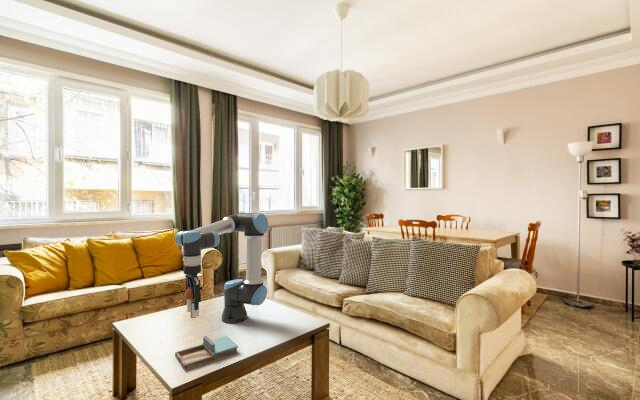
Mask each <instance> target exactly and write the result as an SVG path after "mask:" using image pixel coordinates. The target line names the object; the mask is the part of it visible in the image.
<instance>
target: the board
mask: <svg viewBox="0 0 640 400" xmlns="http://www.w3.org/2000/svg"><path fill="white" fill-rule="evenodd" d="M237 353H238V348H235V349H232V350H229V351H225V352H222V353H219V354H216V355H212V354H211V353H210V352H209V351H208V349H207V348H206V347H205V346H204V345H203V343H201V344H198V345H196V346H192V347H188V348H186V349H182V350H178V351H175V353H174V354H175V355H174V356H175V359H176V360H177V362H178V363H179V364H180V366H181V367H182V369H183V370H184V371H187V370H190V369H193V368H197V367H200V366H203V365H206V364H209V363H212V362H214V361H218V360H222V359H225V358H227V357H230V356H233V355H235V354H237Z"/></svg>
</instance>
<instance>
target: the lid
mask: <svg viewBox="0 0 640 400" xmlns="http://www.w3.org/2000/svg"><path fill="white" fill-rule="evenodd" d="M202 339H203V342H202V344H203V345H204V346H205V347H206V348H207V349H208V351H209V352H210V353H211V354H212V355H216V354H219V353H222V352H225V351H229V350H232V349H235V348H237V349H238V348H239V346H238V344H237V343H236V342H234V341H233V339H231V338H230V337H229V336H227V335H225V336H221V337H217V338H214V339H210V338H209V337H208V336H207V335H205V336H203V338H202Z"/></svg>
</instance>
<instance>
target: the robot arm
mask: <svg viewBox="0 0 640 400" xmlns="http://www.w3.org/2000/svg"><path fill="white" fill-rule="evenodd" d="M268 229H269V220H268V218H267V216H266V215H265V214H264V213H262V212H238V213H234V214H232V215H228V216H225V217H223V219H221V220H218V221H214V222H213V223H209V224H207V225H202V226H199V227H197V228H194V229H191V230H182V231H179V232H177V233H176V234H175V238H174V240H175V241H174V243H175V244H176V245H177V246H180V247H182V248H183V249H182V252H183V258H182V261H183V274H184V275H185V276H184V278H185V291H184V293H185V292H186V291H187V289H188V288H189V287H190V288H191V289H192V297H193V302H191V299H186V313H191V303H192V317H196V318H197V317H199V316H200V302H202V298H201V297H202V296H201V295H200V292H201V279H199V277H198V274H201V273H202V251H203V250H207V249H212V248H215V247H217V246H218V245H219V244H220V242H221V237H220V236H221V235H223V234H226V233H227V234H229V233H233V232H234V233H235V232H236V233H237V232H239V233H241V232H242V233H244V234H243V236H244V237H245V238H246V259H245V260H246V261H245V262H246V263H245V264H246V265H245V266H246V267H245V268H246V271H245V279H241V278H240V279H238V278H237V279H232V280H228V281H226V282H225V283H224V287H223V288H224V289H223V296H224V297H223V301H224V303H223V304H224V307H223V310H222V313H221V321H222V322H224V323H228V324H236V323H240V322H244V321H245V320H247V318H248V312H247V309H246V306H245V305H251V306H261V305H262V304H263V303H264V302H265V300H266V299H267V296H268V288H267V286H266V285H265V284H264V280H263V279H262V239H263V237H265V234H266V233H267V231H268Z"/></svg>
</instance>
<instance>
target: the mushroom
mask: <svg viewBox="0 0 640 400" xmlns="http://www.w3.org/2000/svg"><path fill="white" fill-rule="evenodd" d="M200 295H201V297H202V296H203V295H202V292H201V291H200ZM183 299H184V300H187V299H191V302H193V297H192V289H191V288H190V287H189V288H188V289H187V291H186V292H185V291H184V294H183ZM189 315H190V318H191V319H195V318H197V317H192V303H191V312H190V314H189Z"/></svg>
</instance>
